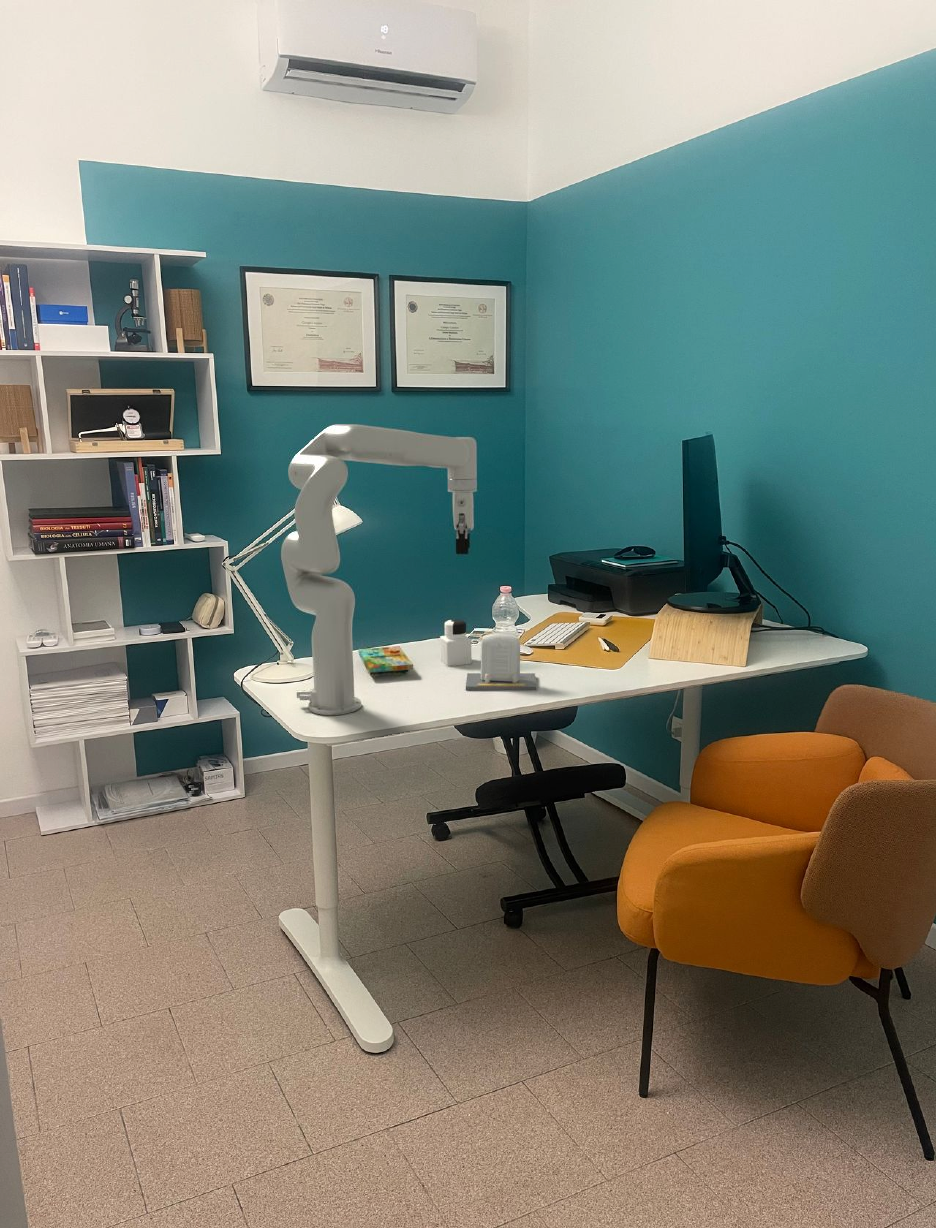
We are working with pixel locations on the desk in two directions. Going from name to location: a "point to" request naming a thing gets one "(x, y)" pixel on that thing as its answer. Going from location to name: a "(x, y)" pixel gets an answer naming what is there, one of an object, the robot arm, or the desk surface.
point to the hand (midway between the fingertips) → (462, 551)
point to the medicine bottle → (455, 644)
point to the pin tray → (501, 682)
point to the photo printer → (500, 657)
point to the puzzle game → (385, 661)
